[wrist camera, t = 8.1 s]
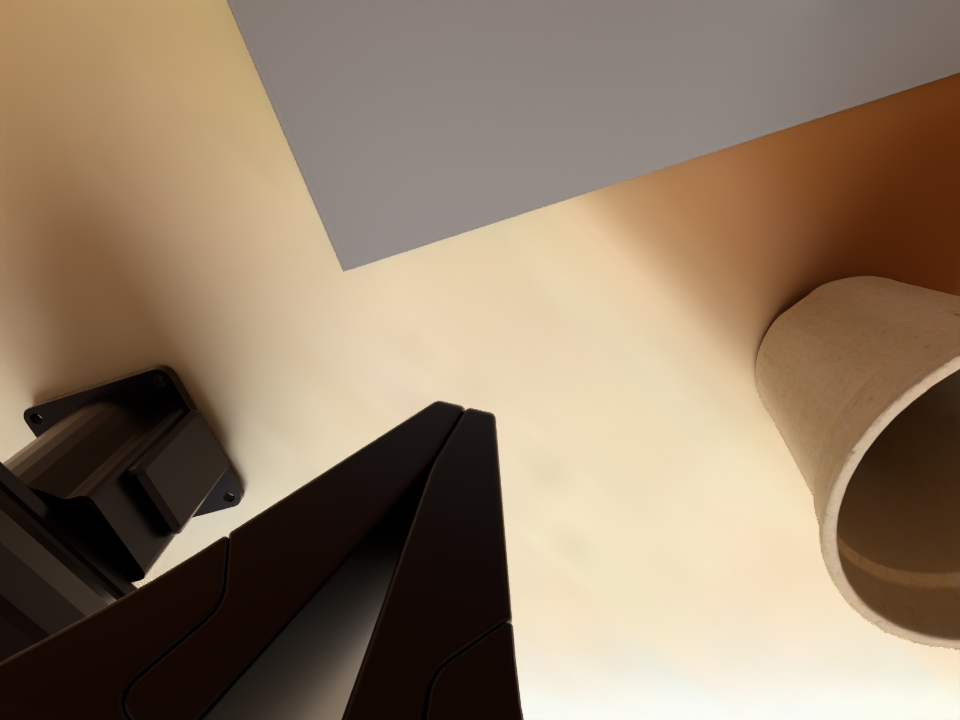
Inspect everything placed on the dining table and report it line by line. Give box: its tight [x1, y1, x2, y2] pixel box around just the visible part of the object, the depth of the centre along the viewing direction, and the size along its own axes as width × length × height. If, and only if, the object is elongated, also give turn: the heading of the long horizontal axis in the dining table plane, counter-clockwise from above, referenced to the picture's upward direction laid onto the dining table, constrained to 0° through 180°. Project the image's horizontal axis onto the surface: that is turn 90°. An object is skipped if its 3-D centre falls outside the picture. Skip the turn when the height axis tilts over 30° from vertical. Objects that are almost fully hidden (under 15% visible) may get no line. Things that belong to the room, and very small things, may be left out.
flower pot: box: [756, 276, 960, 650], centre depth 18 cm, size 9×9×9 cm
